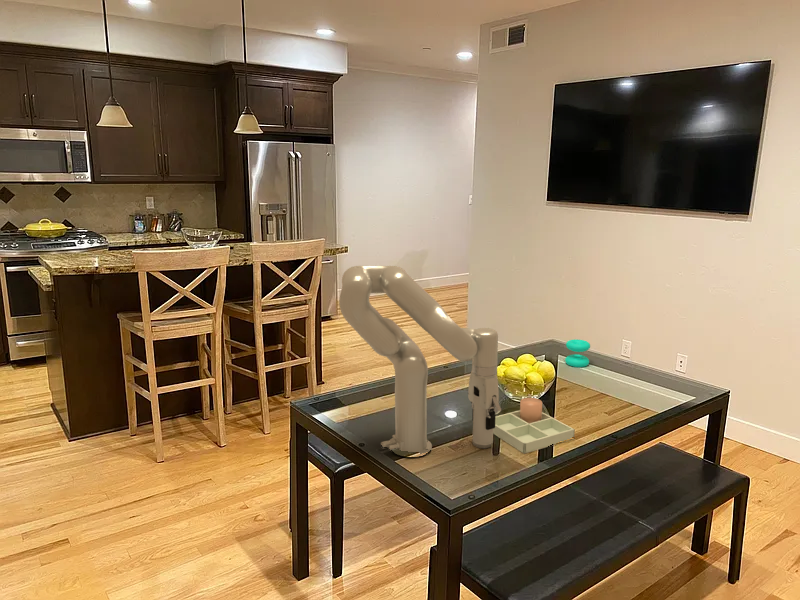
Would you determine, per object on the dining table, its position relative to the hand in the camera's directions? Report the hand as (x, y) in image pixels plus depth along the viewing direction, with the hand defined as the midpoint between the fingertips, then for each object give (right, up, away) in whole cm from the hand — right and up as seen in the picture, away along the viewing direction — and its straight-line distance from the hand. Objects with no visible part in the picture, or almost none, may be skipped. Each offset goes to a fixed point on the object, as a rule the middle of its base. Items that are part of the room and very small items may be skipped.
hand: (483, 423), depth 182 cm
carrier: (+15, -5, +7) cm, 17 cm away
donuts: (+51, +10, +73) cm, 89 cm away
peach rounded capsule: (+17, -3, +13) cm, 22 cm away
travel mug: (0, -7, +2) cm, 7 cm away
